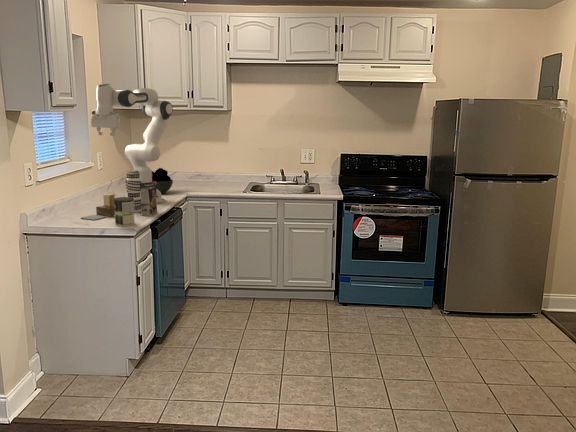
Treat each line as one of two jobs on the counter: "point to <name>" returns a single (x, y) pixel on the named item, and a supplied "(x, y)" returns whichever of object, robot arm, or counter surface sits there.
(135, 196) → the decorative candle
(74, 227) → the counter surface
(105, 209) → the socket block
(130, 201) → the coffee can
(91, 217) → the rubber mat
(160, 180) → the coal bowl
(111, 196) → the wooden square peg
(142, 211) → the coffee box
